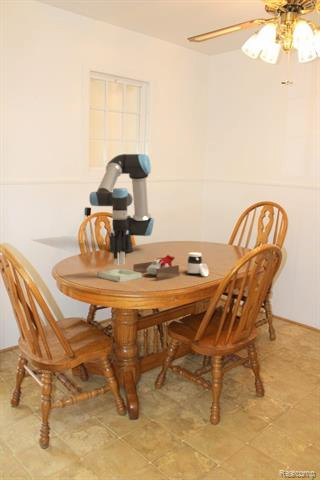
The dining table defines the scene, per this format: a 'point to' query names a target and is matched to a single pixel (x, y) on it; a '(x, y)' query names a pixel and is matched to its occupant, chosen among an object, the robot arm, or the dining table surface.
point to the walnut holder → (158, 271)
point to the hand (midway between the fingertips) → (119, 264)
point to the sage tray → (119, 275)
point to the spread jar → (196, 265)
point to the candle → (160, 264)
